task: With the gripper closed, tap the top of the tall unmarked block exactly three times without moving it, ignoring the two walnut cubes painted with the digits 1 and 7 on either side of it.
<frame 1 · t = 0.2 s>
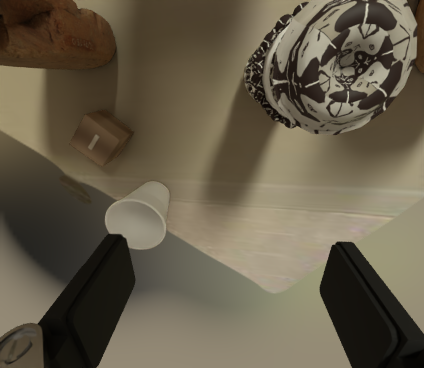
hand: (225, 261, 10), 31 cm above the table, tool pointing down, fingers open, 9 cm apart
walnut cube 7: (111, 133, 40), on the table
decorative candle: (270, 75, 34), on the table
cup: (155, 193, 45), on the table
block: (86, 43, 34), on the table
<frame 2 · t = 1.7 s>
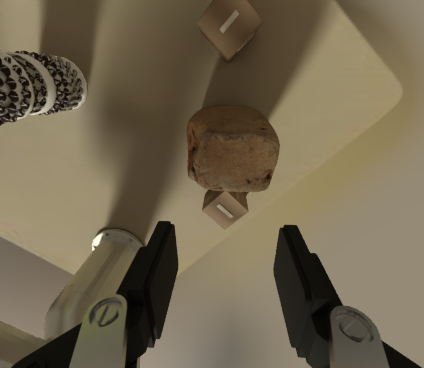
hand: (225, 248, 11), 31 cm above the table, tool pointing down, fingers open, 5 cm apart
walnut cube 7: (228, 31, 33), on the table
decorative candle: (64, 83, 38), on the table
walnut cube 1: (225, 195, 45), on the table
block: (226, 125, 39), on the table
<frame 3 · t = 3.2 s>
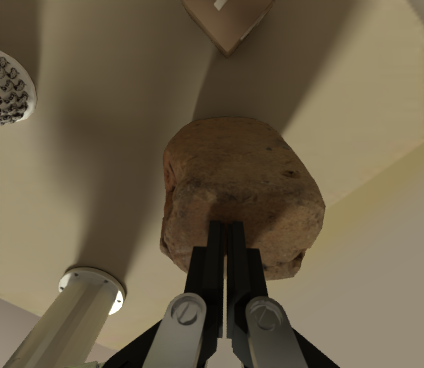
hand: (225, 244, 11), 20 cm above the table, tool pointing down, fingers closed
walnut cube 7: (227, 12, 23), on the table
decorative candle: (5, 87, 28), on the table
block: (225, 143, 29), on the table, touching gripper
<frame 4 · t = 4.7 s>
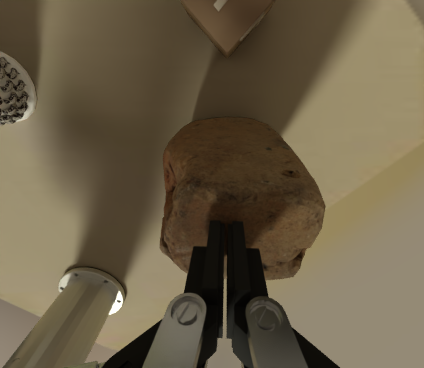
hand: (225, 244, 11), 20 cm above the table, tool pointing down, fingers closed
walnut cube 7: (227, 13, 23), on the table
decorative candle: (5, 87, 28), on the table
block: (225, 143, 29), on the table, touching gripper
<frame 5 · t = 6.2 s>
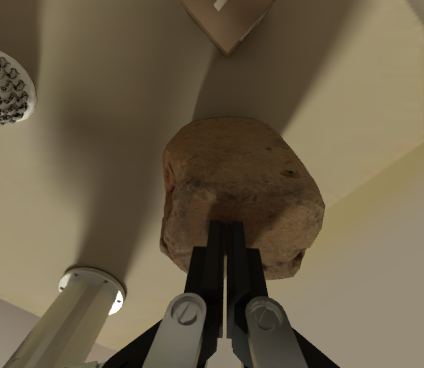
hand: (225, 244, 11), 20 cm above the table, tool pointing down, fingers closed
walnut cube 7: (227, 13, 23), on the table
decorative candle: (5, 87, 28), on the table
block: (225, 143, 29), on the table, touching gripper
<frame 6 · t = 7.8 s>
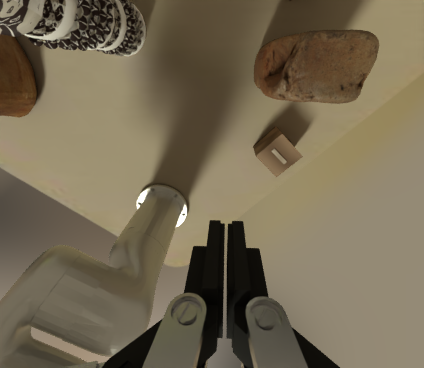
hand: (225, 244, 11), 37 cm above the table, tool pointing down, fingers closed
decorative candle: (123, 28, 39), on the table
ceramic vessel: (16, 83, 44), on the table
walnut cube 1: (273, 146, 46), on the table
block: (282, 70, 40), on the table
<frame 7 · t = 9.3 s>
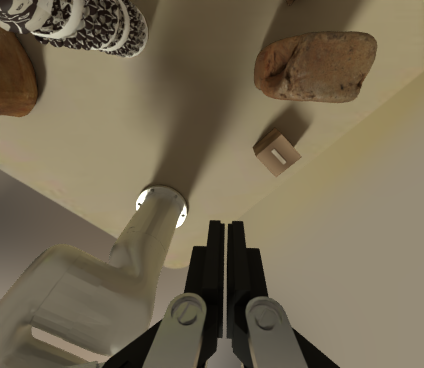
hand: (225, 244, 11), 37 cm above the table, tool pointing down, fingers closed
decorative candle: (125, 30, 39), on the table
ceramic vessel: (17, 83, 44), on the table
walnut cube 1: (272, 147, 47), on the table
block: (281, 73, 41), on the table
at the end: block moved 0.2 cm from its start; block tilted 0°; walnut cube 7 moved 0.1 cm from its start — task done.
